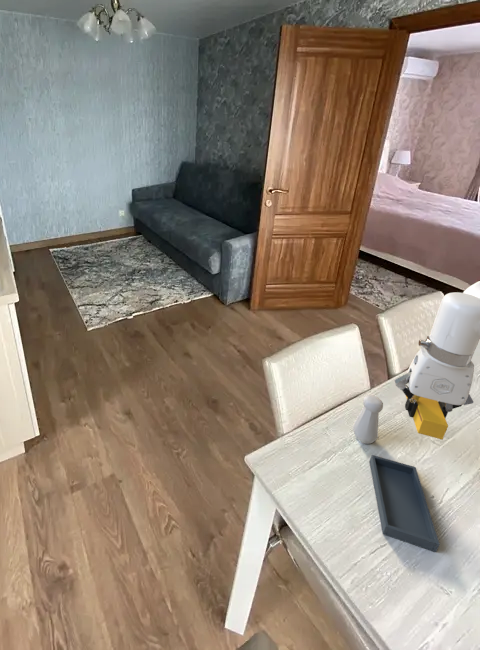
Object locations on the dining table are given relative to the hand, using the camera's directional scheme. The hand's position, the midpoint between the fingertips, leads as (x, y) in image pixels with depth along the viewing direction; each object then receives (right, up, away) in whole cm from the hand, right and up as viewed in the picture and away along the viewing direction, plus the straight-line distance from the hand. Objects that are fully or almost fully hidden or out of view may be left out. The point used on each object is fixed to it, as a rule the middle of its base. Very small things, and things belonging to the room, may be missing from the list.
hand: (423, 415), depth 78 cm
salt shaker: (-7, -12, +12) cm, 19 cm away
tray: (-7, -18, -2) cm, 19 cm away
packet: (0, 0, 0) cm, 0 cm away
